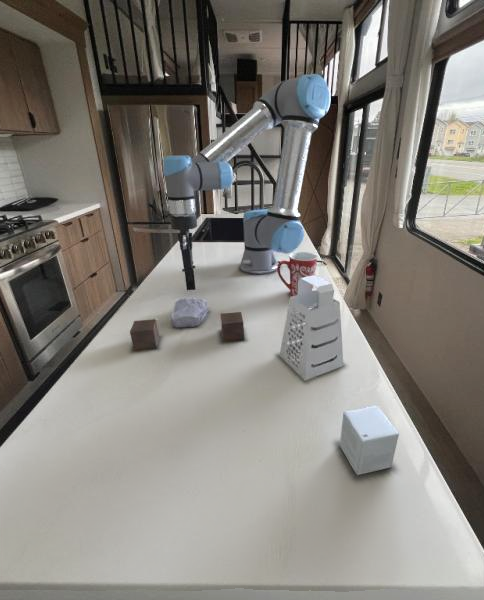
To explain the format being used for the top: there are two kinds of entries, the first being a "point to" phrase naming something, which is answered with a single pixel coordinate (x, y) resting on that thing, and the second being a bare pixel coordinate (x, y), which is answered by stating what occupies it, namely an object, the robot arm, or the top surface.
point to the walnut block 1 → (144, 334)
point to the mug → (298, 269)
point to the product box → (368, 439)
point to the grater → (313, 328)
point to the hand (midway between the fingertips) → (191, 289)
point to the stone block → (189, 312)
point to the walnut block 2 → (232, 326)
